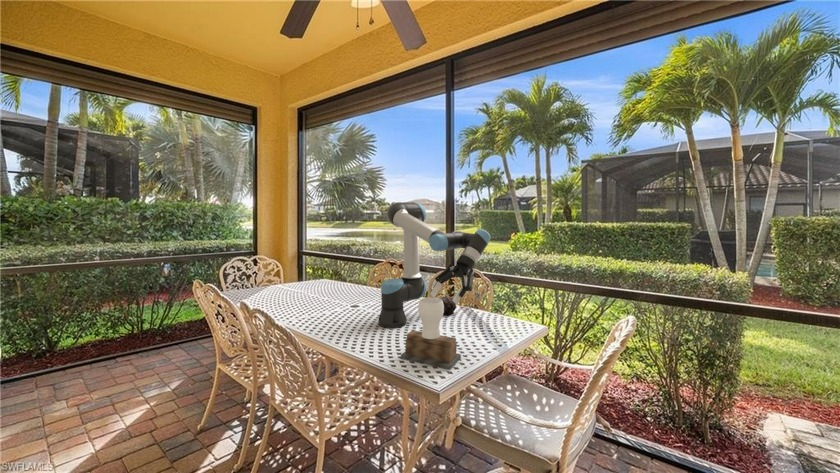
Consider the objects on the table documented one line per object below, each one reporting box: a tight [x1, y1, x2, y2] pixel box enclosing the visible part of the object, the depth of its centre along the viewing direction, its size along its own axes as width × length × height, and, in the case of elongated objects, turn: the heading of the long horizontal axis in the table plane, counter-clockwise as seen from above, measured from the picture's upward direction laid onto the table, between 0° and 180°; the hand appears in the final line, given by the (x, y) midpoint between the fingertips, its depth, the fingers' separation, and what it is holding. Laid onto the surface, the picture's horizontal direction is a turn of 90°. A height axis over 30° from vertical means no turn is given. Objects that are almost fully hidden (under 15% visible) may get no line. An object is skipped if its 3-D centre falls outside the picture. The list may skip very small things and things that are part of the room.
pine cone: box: [438, 296, 457, 316], centre depth 204 cm, size 10×18×10 cm, turn 90°
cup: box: [417, 296, 444, 339], centre depth 144 cm, size 11×11×15 cm
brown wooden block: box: [400, 329, 462, 371], centre depth 145 cm, size 22×12×10 cm, turn 64°
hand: (443, 298), depth 146 cm, fingers open, 13 cm apart
